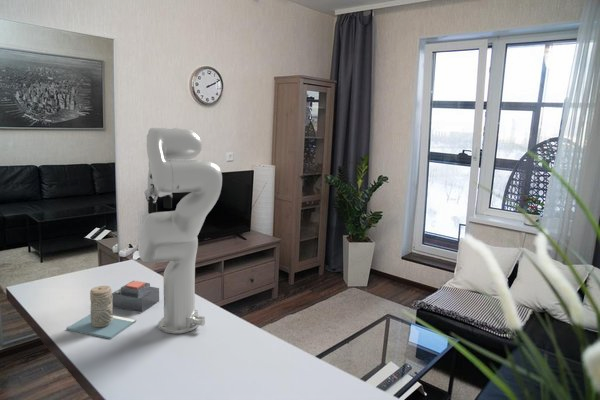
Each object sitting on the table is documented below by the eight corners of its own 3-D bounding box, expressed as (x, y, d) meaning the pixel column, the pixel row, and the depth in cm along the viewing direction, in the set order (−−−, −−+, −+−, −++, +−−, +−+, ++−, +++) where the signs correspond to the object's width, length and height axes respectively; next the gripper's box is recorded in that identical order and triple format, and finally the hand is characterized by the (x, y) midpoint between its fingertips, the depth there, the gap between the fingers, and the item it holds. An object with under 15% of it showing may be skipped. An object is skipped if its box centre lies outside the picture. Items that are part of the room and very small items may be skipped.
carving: (88, 330, 131) (86, 293, 129) (94, 318, 139) (93, 283, 136) (110, 329, 132) (108, 292, 130) (115, 318, 140) (114, 283, 138)
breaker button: (145, 288, 153) (145, 282, 152) (137, 292, 148) (137, 287, 148) (134, 286, 154) (134, 280, 153) (125, 290, 149) (125, 285, 149)
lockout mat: (136, 321, 140) (136, 319, 139) (110, 339, 128) (110, 336, 128) (94, 313, 144) (94, 311, 143) (66, 329, 132) (66, 327, 132)
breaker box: (159, 301, 155) (159, 282, 154) (142, 312, 146) (141, 293, 144) (130, 296, 158) (130, 278, 157) (112, 307, 149) (111, 288, 147)
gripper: (155, 167, 142) (156, 217, 146) (181, 161, 159) (181, 207, 162) (135, 165, 144) (136, 214, 147) (163, 160, 160) (164, 205, 164)
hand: (160, 210), depth 155 cm, fingers open, 9 cm apart
